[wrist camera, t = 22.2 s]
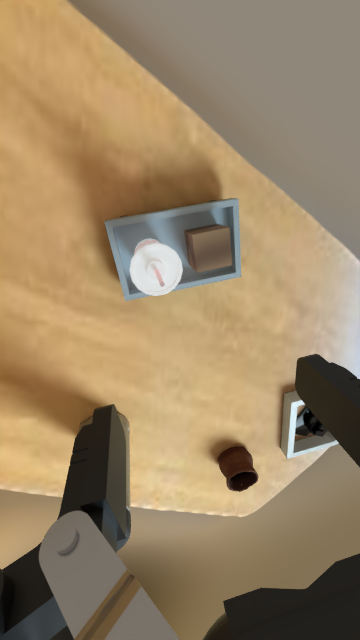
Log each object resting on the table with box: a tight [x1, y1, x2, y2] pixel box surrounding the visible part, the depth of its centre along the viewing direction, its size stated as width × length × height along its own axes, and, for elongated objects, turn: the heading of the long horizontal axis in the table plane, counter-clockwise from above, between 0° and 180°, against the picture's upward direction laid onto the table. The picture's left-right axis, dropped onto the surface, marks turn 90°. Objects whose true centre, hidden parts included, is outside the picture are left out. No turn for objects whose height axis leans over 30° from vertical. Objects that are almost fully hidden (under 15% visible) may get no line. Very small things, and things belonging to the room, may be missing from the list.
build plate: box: [295, 406, 328, 437], centre depth 62 cm, size 12×7×5 cm, turn 154°
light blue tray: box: [104, 198, 241, 301], centre depth 38 cm, size 18×11×4 cm, turn 98°
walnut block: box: [184, 224, 232, 273], centre depth 35 cm, size 5×5×5 cm
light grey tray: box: [281, 391, 339, 459], centre depth 63 cm, size 15×20×3 cm
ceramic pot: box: [218, 447, 258, 492], centre depth 63 cm, size 18×18×7 cm
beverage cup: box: [130, 238, 183, 296], centre depth 31 cm, size 6×6×14 cm
